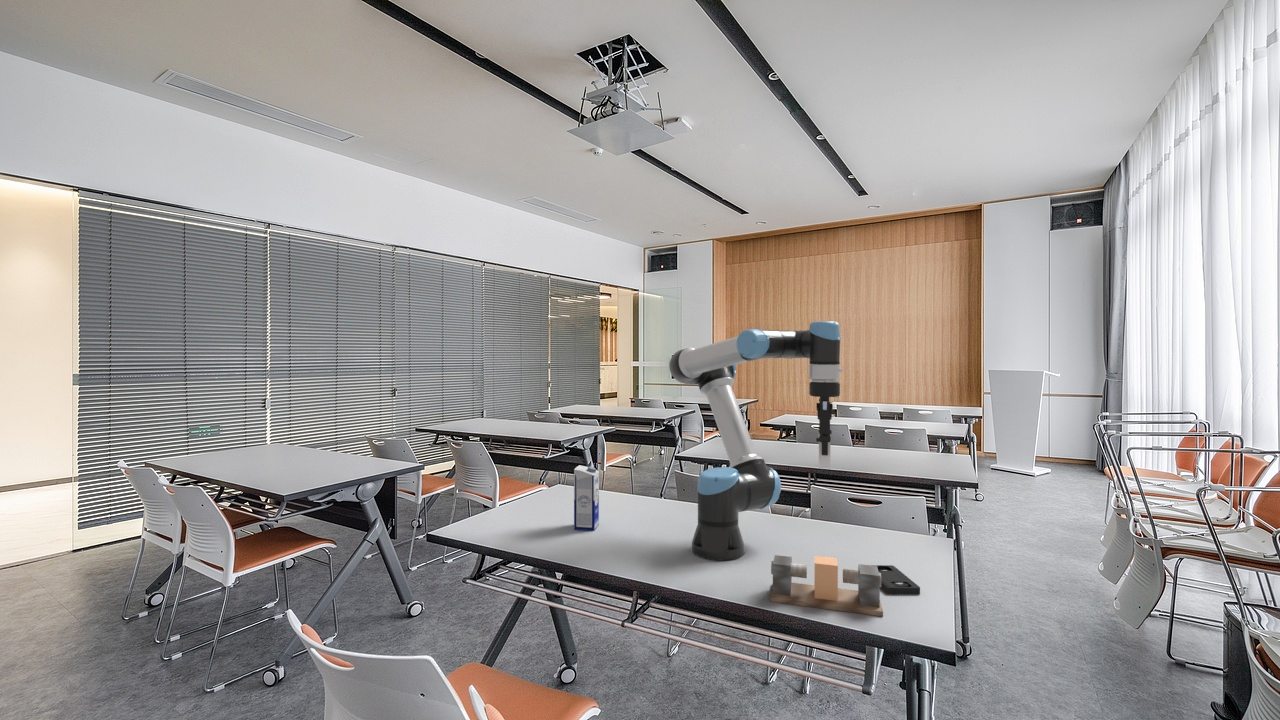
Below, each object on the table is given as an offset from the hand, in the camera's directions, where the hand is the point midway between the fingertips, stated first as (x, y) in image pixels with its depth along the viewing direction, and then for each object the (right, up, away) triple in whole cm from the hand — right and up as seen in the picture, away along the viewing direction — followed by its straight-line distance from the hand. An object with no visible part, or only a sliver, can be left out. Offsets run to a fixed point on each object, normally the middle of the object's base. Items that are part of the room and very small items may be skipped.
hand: (824, 463), depth 144 cm
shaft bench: (-5, -29, -15) cm, 33 cm away
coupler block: (-5, -28, -15) cm, 32 cm away
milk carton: (-65, -29, +39) cm, 81 cm away
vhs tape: (+15, -29, -5) cm, 33 cm away
